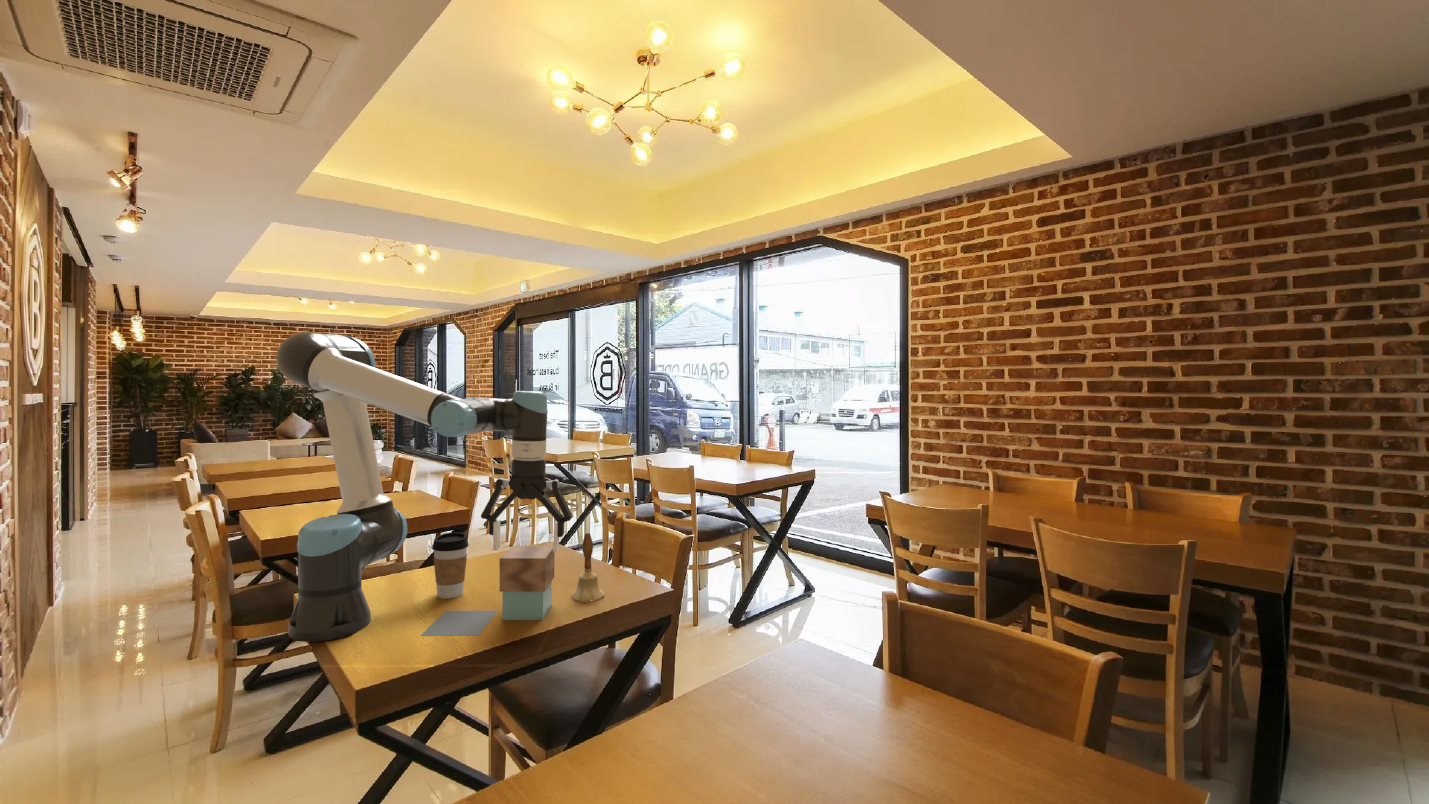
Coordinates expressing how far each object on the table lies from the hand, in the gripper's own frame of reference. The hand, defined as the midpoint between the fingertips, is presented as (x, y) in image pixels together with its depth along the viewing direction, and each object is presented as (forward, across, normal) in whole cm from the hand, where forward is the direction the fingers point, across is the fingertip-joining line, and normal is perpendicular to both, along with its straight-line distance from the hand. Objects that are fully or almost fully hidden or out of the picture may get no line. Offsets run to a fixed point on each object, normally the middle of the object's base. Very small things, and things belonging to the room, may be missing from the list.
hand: (526, 550), depth 144 cm
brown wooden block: (+8, +1, 0) cm, 8 cm away
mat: (+15, -12, -6) cm, 20 cm away
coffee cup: (+16, -21, +12) cm, 29 cm away
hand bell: (+15, +13, +12) cm, 23 cm away
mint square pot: (+15, +1, 0) cm, 15 cm away
